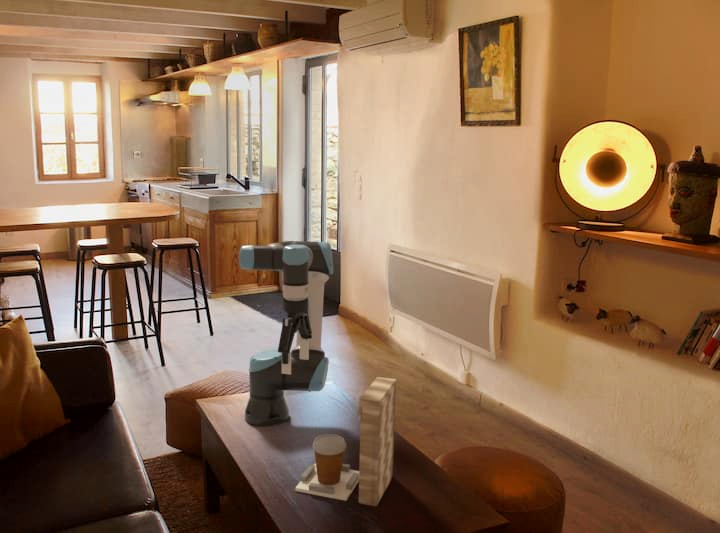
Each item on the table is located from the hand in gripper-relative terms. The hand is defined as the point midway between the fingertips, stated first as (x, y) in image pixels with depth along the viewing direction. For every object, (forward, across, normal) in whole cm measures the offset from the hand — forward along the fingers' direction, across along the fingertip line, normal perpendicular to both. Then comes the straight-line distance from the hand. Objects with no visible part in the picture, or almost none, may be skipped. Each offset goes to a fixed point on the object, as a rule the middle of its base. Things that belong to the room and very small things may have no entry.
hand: (295, 366), depth 206 cm
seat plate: (+29, -12, -16) cm, 35 cm away
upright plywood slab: (+29, -12, -30) cm, 43 cm away
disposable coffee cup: (+28, -13, -16) cm, 35 cm away
